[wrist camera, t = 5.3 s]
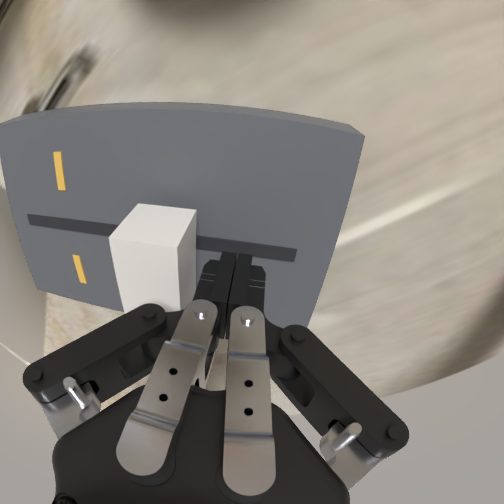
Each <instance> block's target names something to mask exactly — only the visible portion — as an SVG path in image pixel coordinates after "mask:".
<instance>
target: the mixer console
mask: <svg viewBox="0 0 504 504" xmlns="http://www.w3.org/2000/svg"><path fill="white" fill-rule="evenodd" d="M364 138H365V136H364V135H363V134H362V133H360V132H359V131H358V130H356V129H355V128H353V127H352V126H351V125H348V124H343V123H339V122H334V121H330V120H325V119H320V118H315V117H310V116H304V115H299V114H293V113H286V112H280V111H273V110H266V109H258V108H250V107H240V106H230V105H218V104H202V103H178V102H136V103H113V104H98V105H86V106H77V107H68V108H60V109H53V110H46V111H40V112H34V113H29V114H24V115H21V116H19V117H16V118H13V119H11V120H8V121H6V122H3V123H1V124H0V157H1V164H2V170H3V175H4V180H5V186H6V190H7V195H8V199H9V203H10V208H11V211H12V215H13V219H14V223H15V226H16V230H17V233H18V236H19V240H20V243H21V246H22V249H23V252H24V255H25V258H26V261H27V263H28V266H29V269H30V272H31V274H32V277H33V280H34V282H35V285H36V287H37V289H39V290H42V291H45V292H49V293H52V294H56V295H59V296H63V297H66V298H70V299H74V300H78V301H81V302H85V303H89V304H93V305H97V306H101V307H105V308H110V309H114V310H118V311H123V312H124V309H123V305H122V300H121V296H120V292H119V288H118V283H117V279H116V274H115V269H114V264H113V259H112V254H111V249H110V243H109V237H110V235H111V234H112V233H113V232H114V231H115V229H116V228H117V227H118V226H119V225H120V224H121V222H122V221H123V220H124V219H125V218H126V217H127V216H128V214H129V213H130V212H131V211H132V210H133V209H134V208H135V207H136V205H137V204H138V203H140V204H149V205H159V206H168V207H177V208H185V209H194V210H197V216H196V288H197V285H198V282H199V280H200V276H201V274H202V270H203V267H204V265H205V264H206V263H207V262H208V261H209V260H210V259H212V260H219V261H220V257H221V254H222V251H228V252H236V253H237V256H238V253H244V254H251V255H253V256H252V264H251V265H256V266H262V267H263V269H264V271H265V273H266V280H265V297H264V315H265V317H266V318H267V320H268V321H269V322H271V323H272V324H274V325H276V326H278V327H281V328H285V327H287V326H289V325H294V324H296V325H302V326H304V327H306V328H307V326H308V324H309V321H310V318H311V316H312V313H313V310H314V307H315V305H316V302H317V299H318V296H319V293H320V290H321V288H322V285H323V282H324V279H325V276H326V273H327V270H328V267H329V264H330V261H331V258H332V254H333V251H334V248H335V245H336V242H337V239H338V235H339V232H340V229H341V225H342V222H343V218H344V215H345V212H346V208H347V205H348V201H349V197H350V194H351V190H352V186H353V183H354V179H355V175H356V171H357V167H358V163H359V159H360V155H361V151H362V147H363V142H364ZM236 261H237V260H236ZM193 298H194V297H193ZM192 301H193V300H192ZM226 326H227V325H226Z"/></svg>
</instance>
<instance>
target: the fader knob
mask: <svg viewBox="0 0 504 504" xmlns="http://www.w3.org/2000/svg"><path fill="white" fill-rule="evenodd" d="M196 216H197V210H194V209H185V208H177V207H168V206H159V205H149V204H140V203H138V204H137V205H136V207H135V208H134V209H133V210H132V211H131V212H130V213H129V214H128V216H127V217H126V218H125V219H124V220H123V221H122V222H121V224H120V225H119V226H118V227H117V228H116V229H115V231H114V232H113V233H112V234H111V235H110V237H109V243H110V249H111V254H112V259H113V264H114V269H115V274H116V279H117V283H118V288H119V292H120V296H121V300H122V305H123V309H124V312H125V314H126V313H128V312H129V311H131V310H133V309H135V308H137V307H139V306H141V305H143V304H147V303H154V304H158V305H160V306H161V307H163V309H164V310H165V312H173V311H180V310H183V309H185V307H186V305H187V304H188V303H190V302H191V301H192V300H193V297H194V294H195V291H196Z"/></svg>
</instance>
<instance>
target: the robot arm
mask: <svg viewBox="0 0 504 504" xmlns="http://www.w3.org/2000/svg"><path fill="white" fill-rule="evenodd" d="M252 256H253V255H251V254H244V253H238V256H237V253H236V252H228V251H222V254H221V257H220V261H219V260H212V259H210V260H209V261H208V262H207V263H206V264H205V265H204V267H203V270H202V274H201V276H200V280H199V282H198V285H197V288H196V291H195V294H194V298H193V301H191V302H190V303H188V304H187V305H186V307H185V309H183V310H180V311H173V312H165V310H164V309H163V307H161V306H160V305H158V304H154V303H147V304H143V305H141V306H139V307H137V308H135V309H133V310H131V311H129V312H128V313H126V314H124V315H122V316H120V317H118V318H116V319H114V320H112V321H111V322H109V323H107V324H105V325H103V326H101V327H99V328H97V329H95V330H94V331H92V332H90V333H88V334H86V335H84V336H82V337H80V338H79V339H77V340H75V341H73V342H71V343H69V344H67V345H65V346H64V347H62V348H60V349H58V350H56V351H54V352H52V353H50V354H49V355H47V356H45V357H43V358H41V359H39V360H37V361H36V362H34V363H32V364H30V365H29V366H28V367H27V368H26V369H25V371H24V374H23V383H24V385H25V387H26V388H27V389H28V390H29V392H30V393H31V394H32V395H33V397H34V398H35V399H36V401H38V403H39V404H40V405H41V406H42V408H43V410H44V413H45V414H46V417H47V419H48V421H49V423H50V425H51V427H52V428H53V430H54V432H55V434H56V436H57V438H58V441H57V443H56V445H55V447H54V450H53V455H52V463H53V468H54V473H55V480H56V494H55V498H54V501H53V503H52V504H350V496H349V492H348V490H349V489H350V488H351V487H353V486H354V485H355V484H356V483H357V482H358V481H359V480H361V479H362V478H363V477H364V476H365V475H366V474H367V473H368V472H369V471H370V470H371V469H372V468H373V467H375V466H376V465H377V464H378V463H379V462H380V461H382V460H384V459H386V458H387V457H389V456H391V455H392V454H394V453H395V452H397V451H398V450H400V449H401V448H403V447H404V446H405V445H406V444H407V442H408V439H409V430H408V428H407V426H406V424H405V423H404V422H403V421H402V420H401V419H400V418H399V417H398V416H397V415H396V414H395V413H394V412H392V410H391V409H390V408H388V407H387V406H386V405H385V404H384V403H383V402H382V401H381V400H380V399H379V398H378V397H377V396H376V395H375V394H374V393H373V392H372V391H371V390H370V389H369V388H368V387H367V386H366V385H365V384H364V383H363V382H362V381H361V380H360V379H359V378H358V377H357V376H356V375H355V374H354V373H353V372H352V371H351V370H350V369H349V368H348V367H347V366H346V365H345V364H343V363H342V362H341V361H340V360H339V359H338V358H337V357H336V356H335V355H334V354H333V353H332V352H331V351H330V350H329V349H328V348H327V347H326V346H325V345H324V344H323V343H322V342H321V341H320V340H319V339H318V338H317V337H316V336H315V335H314V334H313V333H312V332H311V331H310V330H309V329H308V328H306V327H304V326H302V325H296V324H294V325H289V326H287V327H285V328H281V327H278V326H276V325H274V324H272V323H271V322H269V321H268V320H267V318H266V317H265V315H264V297H265V280H266V273H265V271H264V269H263V267H262V266H256V265H251V264H252ZM236 260H237V261H236ZM226 325H227V326H226ZM225 331H226V339H228V340H229V342H228V353H227V369H226V385H225V390H222V391H208V390H206V385H207V381H208V378H209V375H210V371H211V368H212V364H213V361H214V357H215V354H216V348H217V346H218V341H219V338H221V339H224V336H225ZM150 373H151V374H150ZM148 374H150V376H149V378H148V381H147V383H146V385H143V386H140V387H138V388H136V389H134V390H133V391H131V392H130V393H128V394H127V395H125V396H124V397H122V398H121V399H119V400H117V401H116V402H114V403H113V404H111V405H110V406H108V407H107V408H105V409H104V410H102V411H101V412H100V409H101V403H102V402H104V401H106V400H107V399H109V398H111V397H112V396H114V395H116V394H117V393H119V392H121V391H122V390H124V389H126V388H127V387H129V386H131V385H132V384H134V383H135V382H137V381H139V380H140V379H142V378H143V377H145V376H147V375H148ZM270 376H271V378H272V380H273V381H274V382H275V383H276V384H277V386H278V387H279V388H280V389H281V390H282V392H283V393H284V394H285V395H286V396H287V397H288V399H289V400H290V401H291V402H292V403H293V404H294V406H295V407H296V408H297V409H298V410H299V411H300V412H301V414H302V415H303V416H304V417H305V418H306V419H307V420H308V422H309V423H310V424H311V425H312V426H313V427H314V428H315V429H316V430H317V432H318V433H319V434H320V435H321V436H322V438H321V440H320V450H321V453H322V454H323V456H324V457H325V459H326V461H325V460H324V459H323V458H322V457H321V456H320V454H319V453H318V452H317V451H316V450H315V448H314V447H313V446H312V445H311V444H310V442H309V441H308V440H307V439H306V437H305V436H304V435H303V434H302V433H301V431H300V430H299V429H298V427H297V426H296V425H295V424H294V423H293V421H292V420H291V419H290V417H289V416H288V415H287V414H286V413H285V412H284V411H283V410H282V409H281V408H279V407H278V406H277V405H275V404H273V403H271V391H270Z"/></svg>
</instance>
